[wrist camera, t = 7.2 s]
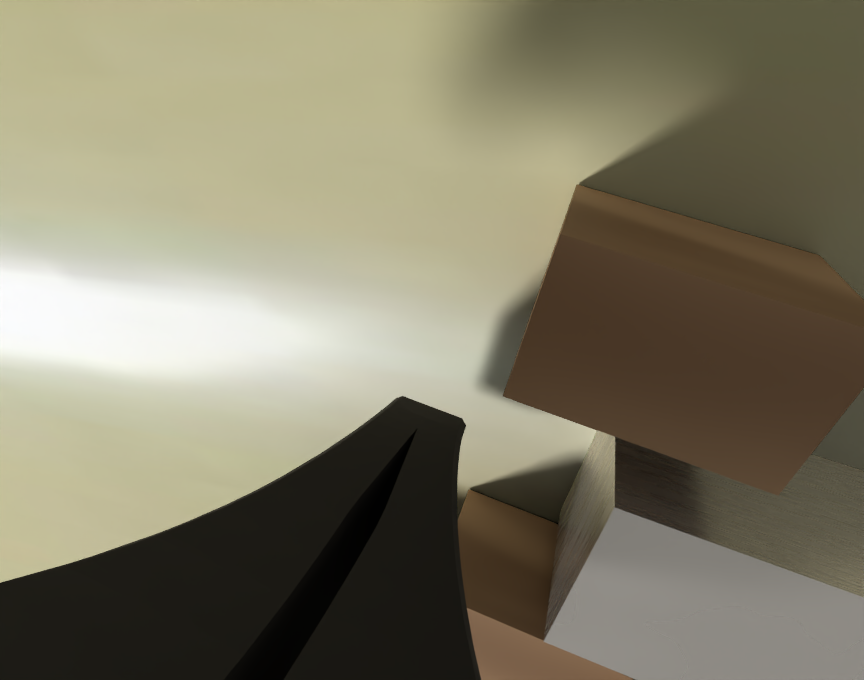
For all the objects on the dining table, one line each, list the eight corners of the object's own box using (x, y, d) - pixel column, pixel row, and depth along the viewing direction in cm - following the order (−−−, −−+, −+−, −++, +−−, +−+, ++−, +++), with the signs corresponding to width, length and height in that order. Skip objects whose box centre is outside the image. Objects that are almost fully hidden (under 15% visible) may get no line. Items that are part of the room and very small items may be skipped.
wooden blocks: (590, 616, 14) (583, 741, 11) (445, 555, 15) (408, 661, 12) (820, 255, 9) (902, 339, 6) (577, 184, 9) (560, 234, 7)
